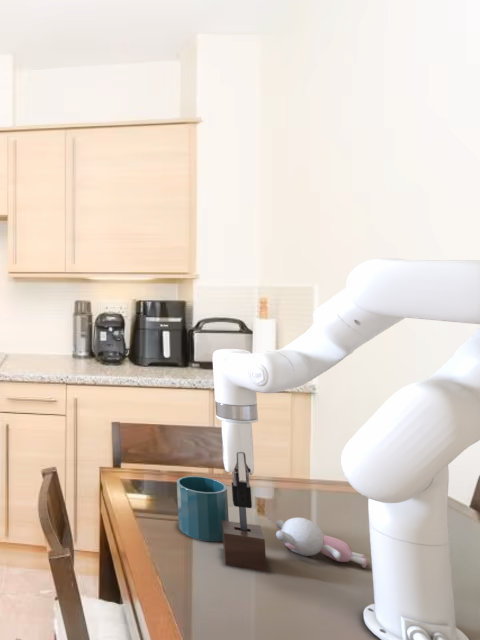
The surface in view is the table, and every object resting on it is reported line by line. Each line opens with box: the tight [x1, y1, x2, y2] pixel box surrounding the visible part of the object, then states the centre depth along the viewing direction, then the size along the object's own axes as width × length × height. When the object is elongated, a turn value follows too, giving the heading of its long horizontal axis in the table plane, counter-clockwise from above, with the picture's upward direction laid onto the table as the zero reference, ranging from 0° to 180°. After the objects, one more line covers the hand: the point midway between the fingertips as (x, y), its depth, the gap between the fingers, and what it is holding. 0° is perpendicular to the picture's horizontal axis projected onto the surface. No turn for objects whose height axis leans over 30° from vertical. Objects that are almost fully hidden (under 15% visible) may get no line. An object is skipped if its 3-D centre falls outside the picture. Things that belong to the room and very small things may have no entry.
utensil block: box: [222, 520, 268, 572], centre depth 101 cm, size 6×7×6 cm
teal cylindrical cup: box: [176, 475, 230, 542], centre depth 114 cm, size 10×10×10 cm
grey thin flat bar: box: [238, 507, 248, 531], centre depth 102 cm, size 1×2×16 cm, turn 67°
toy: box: [275, 517, 368, 569], centre depth 102 cm, size 8×7×15 cm
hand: (242, 505), depth 102 cm, fingers closed on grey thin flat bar, 1 cm apart
